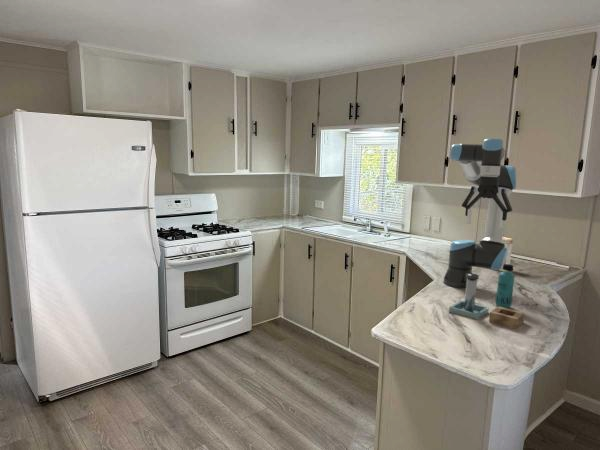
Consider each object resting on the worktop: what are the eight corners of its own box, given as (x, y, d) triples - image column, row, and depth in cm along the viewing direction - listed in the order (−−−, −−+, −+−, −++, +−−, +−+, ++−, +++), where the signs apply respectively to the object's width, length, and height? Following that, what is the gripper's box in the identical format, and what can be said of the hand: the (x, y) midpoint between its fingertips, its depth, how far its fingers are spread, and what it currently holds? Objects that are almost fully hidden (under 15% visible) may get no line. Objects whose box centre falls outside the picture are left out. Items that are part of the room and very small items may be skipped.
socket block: (488, 324, 170) (489, 312, 169) (497, 317, 177) (498, 306, 177) (515, 331, 163) (517, 319, 163) (523, 324, 171) (524, 312, 170)
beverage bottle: (497, 304, 194) (501, 261, 190) (512, 308, 189) (518, 264, 186) (492, 308, 188) (497, 264, 185) (509, 312, 184) (514, 267, 181)
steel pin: (460, 311, 180) (464, 274, 177) (465, 309, 183) (468, 272, 181) (472, 314, 177) (476, 277, 174) (476, 312, 180) (480, 275, 178)
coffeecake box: (479, 266, 263) (483, 235, 260) (485, 264, 267) (488, 234, 264) (504, 272, 252) (508, 239, 249) (509, 270, 256) (513, 238, 253)
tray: (448, 313, 180) (449, 307, 179) (460, 307, 189) (460, 300, 188) (477, 321, 172) (478, 314, 171) (487, 314, 181) (488, 307, 180)
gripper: (457, 174, 185) (452, 222, 189) (518, 178, 169) (512, 230, 172) (463, 174, 191) (459, 221, 194) (524, 177, 174) (518, 228, 178)
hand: (484, 225), depth 183 cm, fingers open, 13 cm apart
